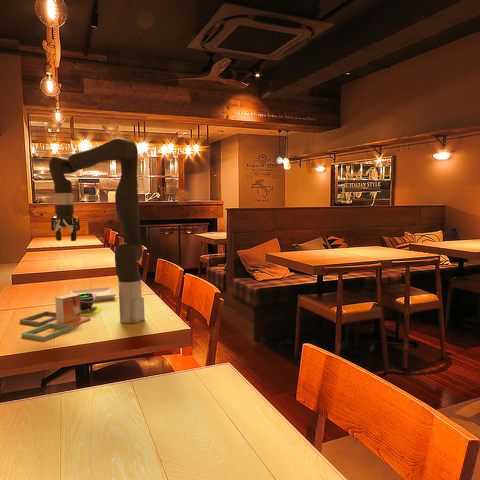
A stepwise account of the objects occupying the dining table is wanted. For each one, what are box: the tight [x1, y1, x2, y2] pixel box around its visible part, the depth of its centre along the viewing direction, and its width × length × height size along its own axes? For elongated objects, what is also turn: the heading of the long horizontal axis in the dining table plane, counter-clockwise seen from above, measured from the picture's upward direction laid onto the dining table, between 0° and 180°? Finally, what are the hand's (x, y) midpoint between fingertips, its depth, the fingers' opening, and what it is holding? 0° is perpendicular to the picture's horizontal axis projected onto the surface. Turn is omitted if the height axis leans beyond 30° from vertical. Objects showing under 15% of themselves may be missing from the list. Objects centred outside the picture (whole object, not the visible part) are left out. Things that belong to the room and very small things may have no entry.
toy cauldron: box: [74, 287, 102, 317], centre depth 184 cm, size 15×15×11 cm
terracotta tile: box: [47, 316, 92, 328], centre depth 168 cm, size 12×12×1 cm
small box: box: [54, 293, 82, 323], centre depth 167 cm, size 8×6×10 cm
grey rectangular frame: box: [19, 311, 56, 327], centre depth 172 cm, size 11×13×2 cm
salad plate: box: [69, 286, 117, 302], centre depth 209 cm, size 21×21×3 cm
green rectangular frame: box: [21, 323, 73, 342], centre depth 154 cm, size 11×13×2 cm
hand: (66, 240), depth 177 cm, fingers open, 8 cm apart
